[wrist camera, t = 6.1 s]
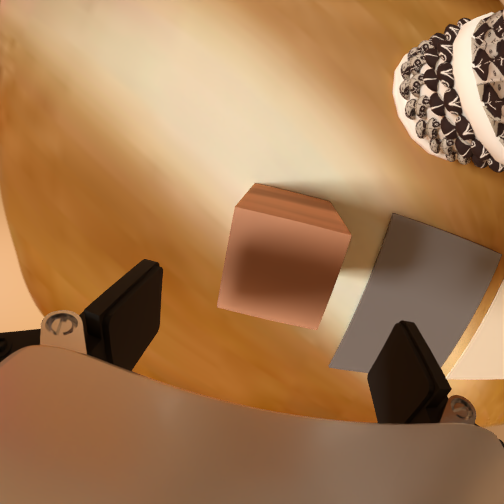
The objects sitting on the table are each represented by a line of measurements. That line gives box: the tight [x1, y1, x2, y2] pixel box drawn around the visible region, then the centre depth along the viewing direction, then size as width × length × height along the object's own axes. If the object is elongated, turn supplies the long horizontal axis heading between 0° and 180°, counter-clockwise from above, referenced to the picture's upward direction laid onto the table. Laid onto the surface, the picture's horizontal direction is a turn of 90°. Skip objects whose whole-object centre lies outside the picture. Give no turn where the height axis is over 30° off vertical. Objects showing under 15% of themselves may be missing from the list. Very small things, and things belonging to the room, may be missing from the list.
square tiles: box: [329, 213, 504, 380], centre depth 20 cm, size 14×26×1 cm, turn 78°
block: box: [217, 183, 352, 330], centre depth 16 cm, size 5×5×7 cm
